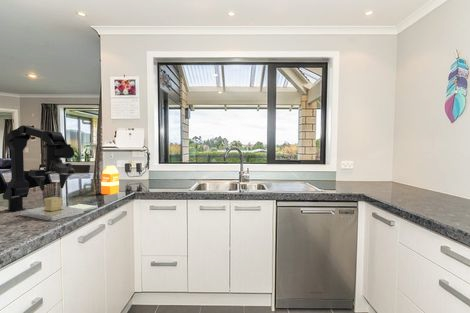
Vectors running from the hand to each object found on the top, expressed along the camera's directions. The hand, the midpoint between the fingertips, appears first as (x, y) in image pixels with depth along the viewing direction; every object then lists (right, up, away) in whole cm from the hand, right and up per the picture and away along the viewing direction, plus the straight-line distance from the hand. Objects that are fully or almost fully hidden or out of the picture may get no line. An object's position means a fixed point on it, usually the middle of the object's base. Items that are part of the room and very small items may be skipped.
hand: (52, 189), depth 128 cm
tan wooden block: (-1, -13, +2) cm, 13 cm away
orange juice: (-2, -11, +64) cm, 65 cm away
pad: (+5, -12, +15) cm, 20 cm away
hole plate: (-1, -12, +2) cm, 13 cm away
